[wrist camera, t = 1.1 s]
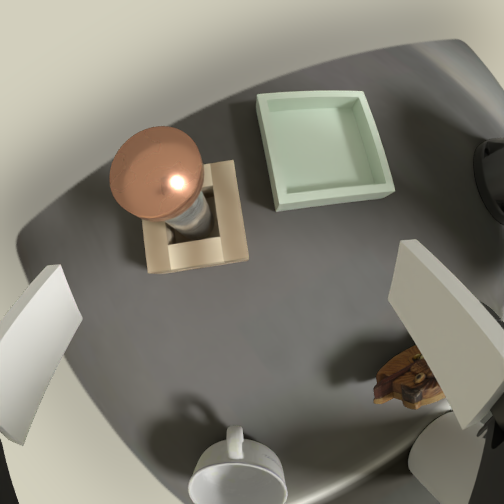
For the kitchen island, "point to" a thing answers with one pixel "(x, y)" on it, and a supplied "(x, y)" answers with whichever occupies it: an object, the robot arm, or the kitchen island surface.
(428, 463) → the cylinder vase
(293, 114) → the tray
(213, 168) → the block
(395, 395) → the wooden carving
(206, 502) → the teacup
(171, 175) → the pin
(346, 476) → the kitchen island surface
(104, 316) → the kitchen island surface
